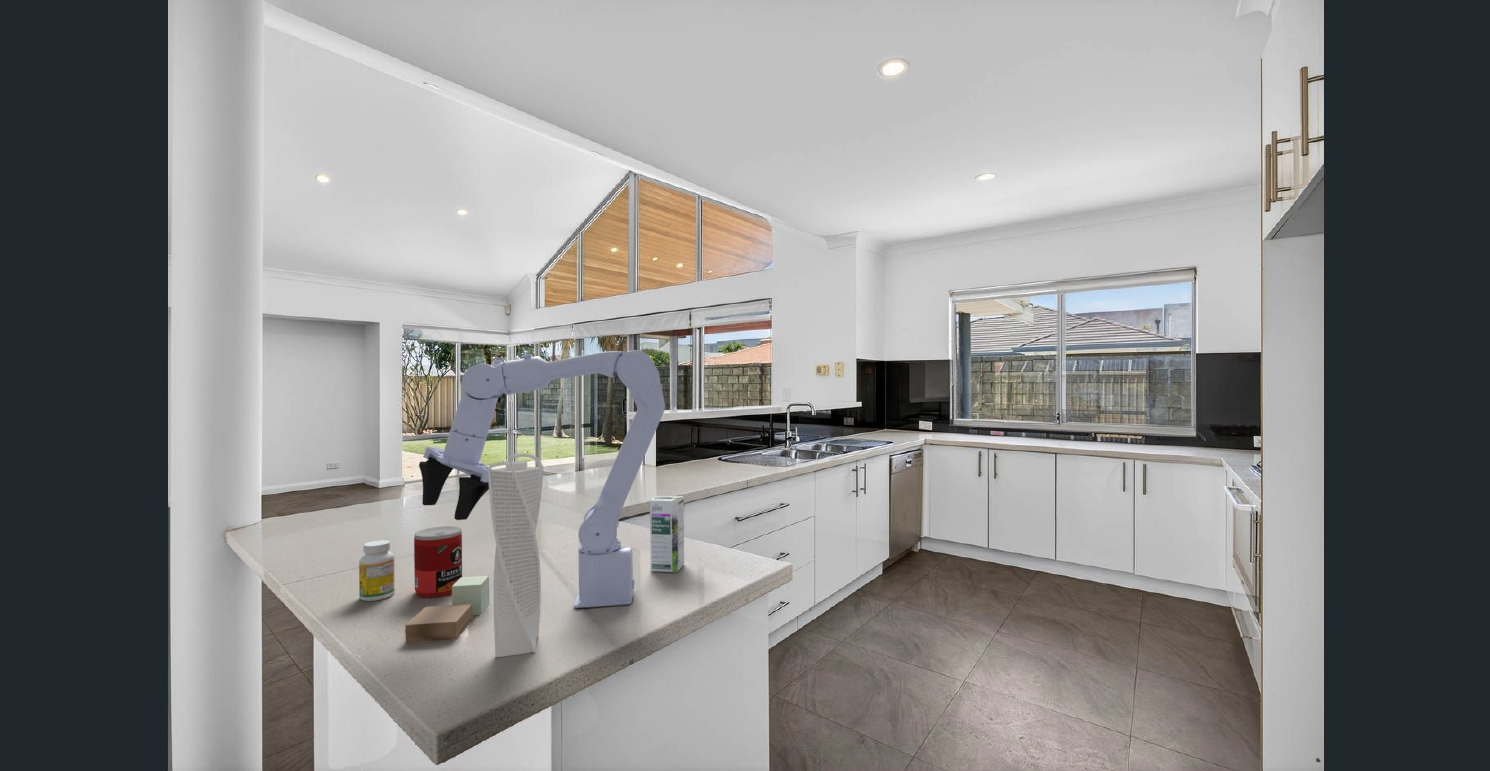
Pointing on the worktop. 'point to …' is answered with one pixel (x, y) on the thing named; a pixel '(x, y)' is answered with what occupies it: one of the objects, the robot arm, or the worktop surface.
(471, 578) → the sage block
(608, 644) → the worktop surface
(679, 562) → the syrup box
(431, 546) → the canned food
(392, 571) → the supplement bottle
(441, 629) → the walnut block
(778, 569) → the worktop surface
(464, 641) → the worktop surface
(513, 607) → the skyscraper
